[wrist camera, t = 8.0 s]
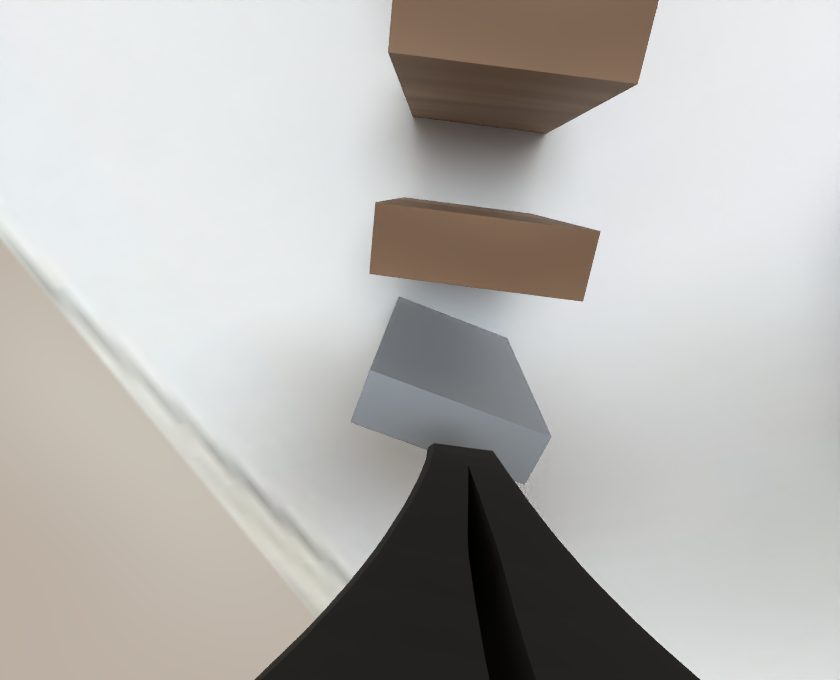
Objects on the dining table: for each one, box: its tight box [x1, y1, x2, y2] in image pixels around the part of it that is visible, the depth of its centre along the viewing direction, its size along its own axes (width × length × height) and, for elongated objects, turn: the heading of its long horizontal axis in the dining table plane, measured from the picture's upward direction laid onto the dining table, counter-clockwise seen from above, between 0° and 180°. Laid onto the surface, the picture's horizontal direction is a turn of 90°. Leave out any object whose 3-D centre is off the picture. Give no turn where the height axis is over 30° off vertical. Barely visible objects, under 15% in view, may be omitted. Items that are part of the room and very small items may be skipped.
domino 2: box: [370, 197, 600, 301], centre depth 14 cm, size 2×5×8 cm, turn 83°
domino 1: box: [388, 0, 659, 133], centre depth 12 cm, size 2×5×8 cm, turn 83°
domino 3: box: [351, 297, 551, 485], centre depth 15 cm, size 2×5×8 cm, turn 69°
